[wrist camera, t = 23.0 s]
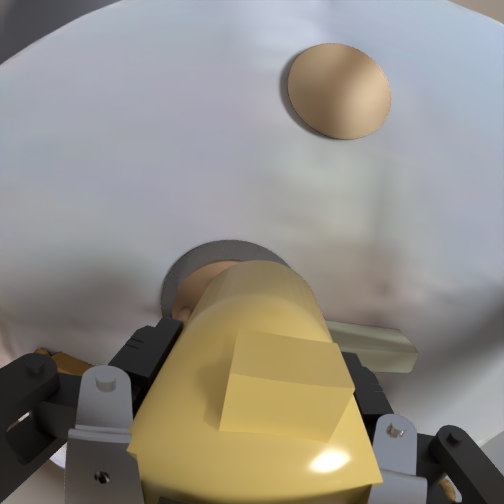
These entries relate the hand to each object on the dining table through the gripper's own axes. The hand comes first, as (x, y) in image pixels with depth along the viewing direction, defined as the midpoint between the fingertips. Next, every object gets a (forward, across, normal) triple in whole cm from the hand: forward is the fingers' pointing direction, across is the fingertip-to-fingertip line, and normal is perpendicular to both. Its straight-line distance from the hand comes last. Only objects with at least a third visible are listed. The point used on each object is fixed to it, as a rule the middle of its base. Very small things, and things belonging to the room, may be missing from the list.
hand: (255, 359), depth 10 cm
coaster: (+15, -4, -16) cm, 22 cm away
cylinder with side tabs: (+4, 0, +1) cm, 4 cm away
